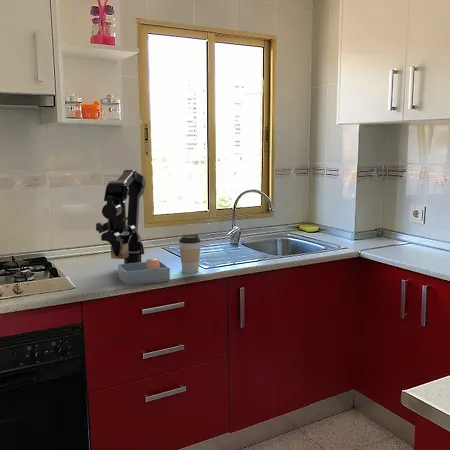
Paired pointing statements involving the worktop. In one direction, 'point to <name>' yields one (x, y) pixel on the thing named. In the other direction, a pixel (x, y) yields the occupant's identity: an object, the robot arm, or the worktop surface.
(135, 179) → the robot arm
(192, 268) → the coffee cup
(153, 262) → the pink rectangular block
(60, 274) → the worktop surface
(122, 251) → the cube
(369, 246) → the worktop surface
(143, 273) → the tote
